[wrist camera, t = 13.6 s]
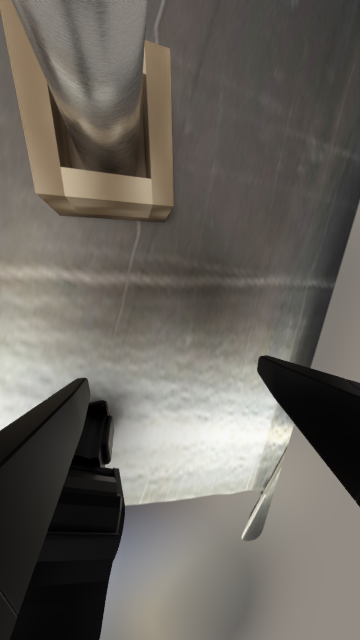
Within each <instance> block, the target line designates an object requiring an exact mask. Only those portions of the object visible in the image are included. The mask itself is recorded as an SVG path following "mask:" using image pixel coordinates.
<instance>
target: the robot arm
mask: <svg viewBox="0 0 360 640" xmlns="http://www.w3.org/2000/svg"><path fill="white" fill-rule="evenodd" d="M257 371H258V374H259V375H260V377H261V378H262V380H263V381H264V383H265V384H266V386H267V388H268V389H269V391H270V392H271V394H272V395H273V397H274V398H275V399H276V401H277V402H278V403H279V405H280V406H281V407H282V408H283V410H284V411H285V412H286V413H287V415H288V416H289V417H290V419H291V420H292V421H293V422H294V424H295V425H296V426H297V427H298V429H299V430H300V431H301V433H302V434H303V435H304V436H305V437H306V439H307V440H308V441H309V443H310V444H311V445H312V446H313V448H314V449H315V450H316V452H317V453H318V454H319V456H320V457H321V458H322V459H323V461H324V462H325V463H326V464H327V466H328V467H329V468H330V469H331V471H332V472H333V473H334V474H335V476H336V477H337V478H338V480H339V481H340V482H341V484H342V485H343V486H344V487H345V489H346V490H347V491H348V493H349V494H350V495H351V496H352V498H353V499H354V500H355V501H356V503H357V504H358V505H359V506H360V383H358V382H355V381H351V380H347V379H344V378H341V377H338V376H334V375H331V374H328V373H324V372H321V371H318V370H314V369H311V368H308V367H304V366H301V365H298V364H294V363H291V362H288V361H284V360H281V359H277V358H274V357H271V356H267V355H266V356H260V357H259V360H258V367H257ZM89 400H90V388H89V383H88V379H87V378H78V379H76V380H74V381H73V382H71V383H70V384H68V385H67V386H65V387H64V388H62V389H61V390H60V391H58V392H57V393H55V394H54V395H52V396H51V397H49V398H48V399H46V400H45V401H43V402H42V403H40V404H39V405H37V406H36V407H34V408H33V409H31V410H30V411H29V412H27V413H26V414H24V415H23V416H21V417H20V418H18V419H17V420H15V421H14V422H12V423H11V424H9V425H8V426H6V427H5V428H3V429H2V430H1V431H0V640H99V638H100V634H101V627H102V620H103V614H104V607H105V600H106V594H107V588H108V582H109V577H110V572H111V568H112V562H113V560H114V558H115V555H116V553H117V551H118V547H119V543H120V540H121V536H122V531H123V525H124V517H125V503H124V497H123V491H122V485H121V479H120V473H119V469H118V468H113V469H110V468H105V464H109V462H110V461H111V454H112V444H113V434H114V430H113V422H112V417H111V416H110V415H109V416H108V409H107V403H106V402H105V401H99V402H94V403H89ZM101 405H104V406H101Z"/></svg>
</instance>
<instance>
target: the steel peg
mask: <svg viewBox="0 0 360 640" xmlns="http://www.w3.org/2000/svg"><path fill="white" fill-rule="evenodd" d="M12 2H13V4H14V7H15V9H16V11H17V14H18V16H19V18H20V21H21V23H22V25H23V28H24V30H25V32H26V35H27V37H28V39H29V42H30V44H31V46H32V49H33V51H34V53H35V55H36V58H37V60H38V62H39V65H40V67H41V69H42V72H43V74H44V76H45V79H46V81H47V83H48V86H49V88H50V90H51V93H52V95H53V97H54V100H55V102H56V104H57V107H58V109H59V111H60V113H61V116H62V118H63V120H64V123H65V125H66V127H67V130H68V132H69V134H70V137H71V139H72V141H73V144H74V146H75V148H76V151H77V153H78V155H79V158H80V160H81V162H82V164H83V166H84V168H85V169H86V170H87V171H95V172H102V173H110V174H117V175H125V176H132V177H133V176H134V174H135V172H136V168H137V159H138V143H139V127H140V111H141V95H142V78H143V62H144V46H145V30H146V14H147V0H12Z"/></svg>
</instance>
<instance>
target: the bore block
mask: <svg viewBox="0 0 360 640" xmlns="http://www.w3.org/2000/svg"><path fill="white" fill-rule="evenodd" d="M0 10H1V16H2V21H3V26H4V31H5V36H6V41H7V47H8V52H9V57H10V62H11V67H12V73H13V78H14V83H15V88H16V93H17V98H18V104H19V109H20V114H21V119H22V124H23V129H24V135H25V140H26V145H27V150H28V155H29V161H30V166H31V171H32V176H33V181H34V186H35V192H36V194H37V195H38V196H39V197H40V198H42V199H43V200H44V201H45V202H46V203H47V204H48V205H49V206H50V207H51V208H53V209H54V210H55V211H56V212H57V213H58V214H59V215H63V216H78V217H93V218H107V219H122V220H137V221H151V222H164V221H165V220H166V218H167V216H168V215H169V213H170V211H171V210H172V208H173V207H174V200H173V158H172V116H171V74H170V49H169V48H166V47H163V46H161V45H158V44H155V43H152V42H149V41H146V40H145V46H144V62H143V78H142V95H141V111H140V127H139V143H138V159H137V168H136V172H135V174H134V176H133V177H132V176H125V175H117V174H110V173H102V172H95V171H87V170H86V169H85V168H84V166H83V164H82V162H81V160H80V158H79V155H78V153H77V151H76V148H75V146H74V144H73V141H72V139H71V137H70V134H69V132H68V130H67V127H66V125H65V123H64V120H63V118H62V116H61V113H60V111H59V109H58V107H57V104H56V102H55V100H54V97H53V95H52V93H51V90H50V88H49V86H48V83H47V81H46V79H45V76H44V74H43V72H42V69H41V67H40V65H39V62H38V60H37V58H36V55H35V53H34V51H33V49H32V46H31V44H30V42H29V39H28V37H27V35H26V32H25V30H24V28H23V25H22V23H21V21H20V18H19V16H18V14H17V11H16V9H15V7H14V4H13V2H12V0H0Z"/></svg>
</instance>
